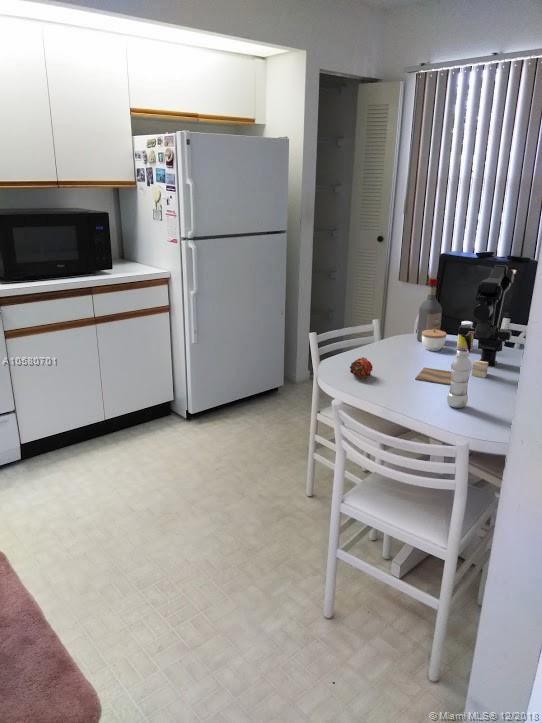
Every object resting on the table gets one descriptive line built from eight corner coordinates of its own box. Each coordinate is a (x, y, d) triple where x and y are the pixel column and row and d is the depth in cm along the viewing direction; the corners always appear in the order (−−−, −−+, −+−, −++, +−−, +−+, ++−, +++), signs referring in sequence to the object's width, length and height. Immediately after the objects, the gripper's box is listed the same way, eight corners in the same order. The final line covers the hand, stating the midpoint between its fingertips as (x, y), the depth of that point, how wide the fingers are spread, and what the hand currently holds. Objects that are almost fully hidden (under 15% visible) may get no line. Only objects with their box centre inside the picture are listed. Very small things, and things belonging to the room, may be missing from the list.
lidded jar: (416, 346, 246) (417, 327, 243) (437, 344, 248) (438, 325, 245) (428, 353, 236) (429, 333, 233) (449, 351, 238) (451, 331, 235)
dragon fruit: (358, 386, 204) (359, 379, 215) (377, 374, 202) (376, 368, 213) (345, 368, 203) (347, 362, 215) (364, 356, 201) (364, 351, 213)
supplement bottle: (473, 352, 237) (476, 324, 233) (457, 351, 238) (460, 323, 234) (470, 347, 243) (473, 320, 239) (455, 347, 244) (458, 320, 240)
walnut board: (423, 368, 217) (424, 367, 217) (459, 374, 210) (459, 372, 210) (415, 379, 205) (415, 378, 205) (452, 385, 199) (452, 384, 199)
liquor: (441, 341, 253) (447, 279, 243) (428, 344, 249) (433, 281, 239) (427, 337, 260) (432, 276, 251) (413, 340, 256) (418, 278, 246)
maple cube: (473, 372, 213) (475, 360, 211) (486, 373, 211) (488, 362, 209) (471, 375, 209) (472, 363, 207) (485, 377, 207) (486, 365, 205)
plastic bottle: (443, 403, 184) (448, 348, 177) (462, 402, 184) (468, 347, 178) (450, 410, 178) (456, 353, 171) (470, 409, 178) (477, 353, 172)
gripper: (457, 316, 199) (453, 355, 205) (510, 322, 191) (505, 362, 196) (462, 310, 209) (458, 348, 214) (514, 315, 200) (508, 354, 205)
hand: (481, 353), depth 207 cm, fingers open, 9 cm apart
